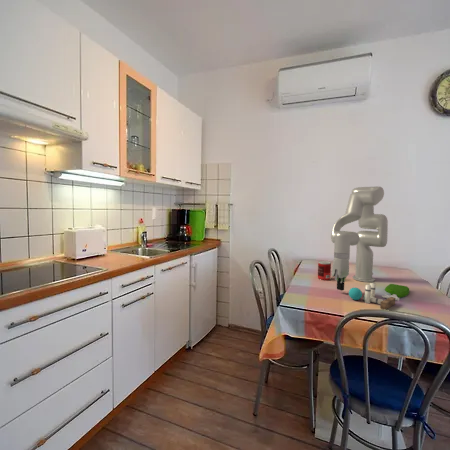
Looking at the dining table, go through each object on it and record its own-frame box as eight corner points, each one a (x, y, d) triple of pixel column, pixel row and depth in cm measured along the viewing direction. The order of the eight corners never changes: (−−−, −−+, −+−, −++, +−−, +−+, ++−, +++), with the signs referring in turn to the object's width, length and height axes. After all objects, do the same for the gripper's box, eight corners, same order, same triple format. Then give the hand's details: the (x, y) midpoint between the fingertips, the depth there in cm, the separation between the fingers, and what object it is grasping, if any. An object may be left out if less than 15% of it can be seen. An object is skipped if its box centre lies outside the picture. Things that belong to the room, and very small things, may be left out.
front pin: (365, 294, 129) (383, 298, 123) (365, 298, 130) (384, 303, 123) (362, 296, 128) (381, 300, 121) (363, 300, 128) (382, 305, 121)
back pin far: (370, 299, 130) (371, 282, 130) (375, 300, 128) (376, 283, 128) (368, 300, 128) (369, 283, 128) (373, 301, 127) (374, 284, 126)
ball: (367, 294, 125) (361, 297, 131) (358, 284, 128) (353, 286, 133) (357, 300, 124) (352, 303, 130) (349, 290, 127) (344, 292, 132)
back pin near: (365, 301, 127) (366, 284, 126) (371, 302, 125) (372, 285, 124) (363, 302, 125) (364, 284, 125) (369, 303, 123) (369, 286, 123)
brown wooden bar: (390, 302, 125) (390, 296, 125) (395, 304, 123) (395, 297, 123) (380, 308, 117) (380, 302, 117) (385, 309, 116) (385, 303, 116)
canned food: (331, 278, 169) (331, 261, 168) (329, 281, 162) (329, 263, 161) (318, 276, 173) (319, 260, 172) (316, 279, 166) (317, 262, 165)
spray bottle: (410, 292, 144) (403, 304, 126) (387, 287, 152) (378, 298, 133) (410, 286, 144) (404, 298, 126) (388, 282, 151) (378, 293, 133)
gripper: (341, 253, 145) (340, 285, 146) (327, 256, 135) (326, 290, 137) (355, 255, 139) (353, 288, 140) (341, 258, 130) (340, 294, 131)
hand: (340, 289), depth 138 cm, fingers closed
